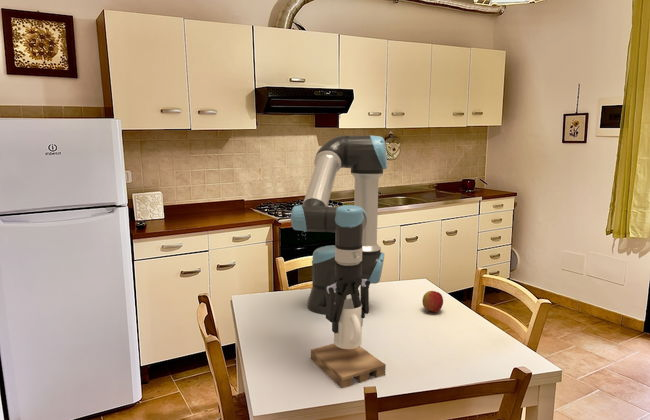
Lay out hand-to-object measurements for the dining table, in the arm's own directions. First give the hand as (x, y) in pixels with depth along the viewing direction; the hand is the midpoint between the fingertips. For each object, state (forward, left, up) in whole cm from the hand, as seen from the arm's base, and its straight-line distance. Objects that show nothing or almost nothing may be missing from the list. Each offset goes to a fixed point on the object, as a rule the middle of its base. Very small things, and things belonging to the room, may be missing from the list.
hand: (347, 340), depth 135 cm
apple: (-19, +50, -8) cm, 54 cm away
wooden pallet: (0, 0, -8) cm, 8 cm away
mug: (0, +1, -2) cm, 2 cm away
